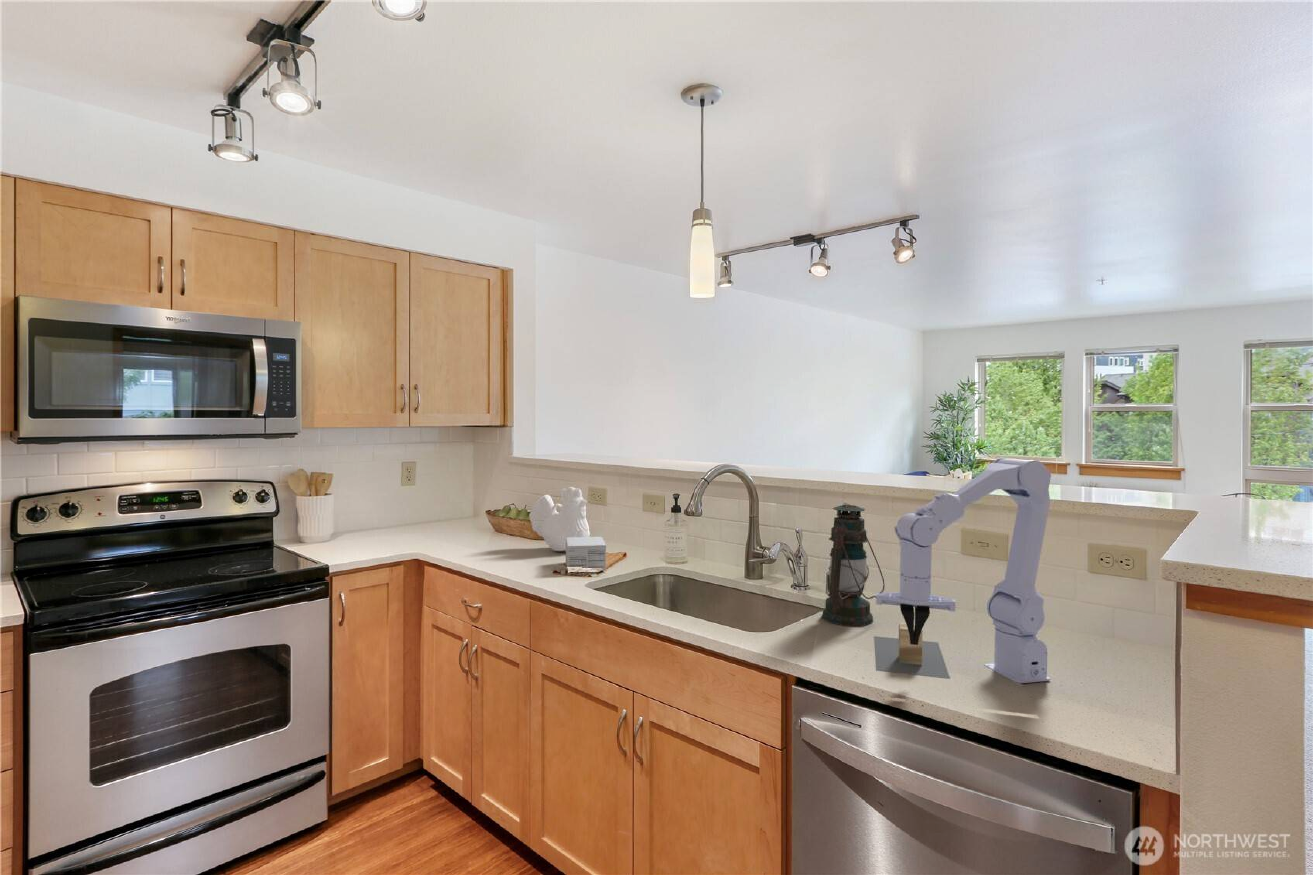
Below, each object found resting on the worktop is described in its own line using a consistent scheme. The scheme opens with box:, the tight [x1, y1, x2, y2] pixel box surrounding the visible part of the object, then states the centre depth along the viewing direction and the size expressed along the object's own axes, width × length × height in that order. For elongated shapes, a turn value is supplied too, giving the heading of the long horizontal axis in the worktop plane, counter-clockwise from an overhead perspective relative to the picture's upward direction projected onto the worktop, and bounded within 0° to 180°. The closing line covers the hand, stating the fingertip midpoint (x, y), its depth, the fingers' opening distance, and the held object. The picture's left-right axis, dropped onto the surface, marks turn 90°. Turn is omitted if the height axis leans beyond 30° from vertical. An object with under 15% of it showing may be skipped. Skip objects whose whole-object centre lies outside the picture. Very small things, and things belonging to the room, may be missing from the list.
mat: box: [873, 635, 951, 680], centre depth 145 cm, size 22×14×1 cm, turn 163°
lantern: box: [821, 502, 886, 627], centre depth 172 cm, size 19×14×30 cm
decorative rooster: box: [528, 486, 591, 552], centre depth 259 cm, size 25×16×25 cm, turn 56°
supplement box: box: [565, 536, 607, 572], centre depth 229 cm, size 17×13×9 cm
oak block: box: [898, 621, 924, 666], centre depth 141 cm, size 4×4×8 cm
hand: (913, 643), depth 132 cm, fingers closed
